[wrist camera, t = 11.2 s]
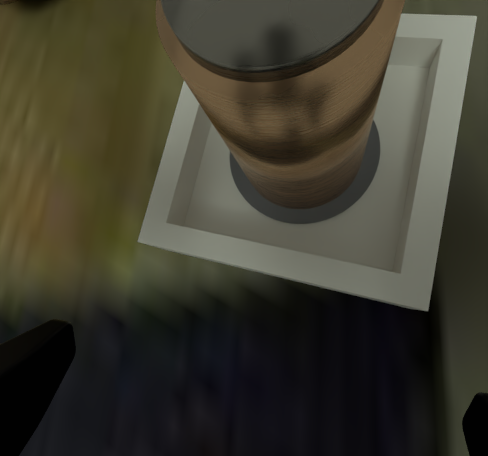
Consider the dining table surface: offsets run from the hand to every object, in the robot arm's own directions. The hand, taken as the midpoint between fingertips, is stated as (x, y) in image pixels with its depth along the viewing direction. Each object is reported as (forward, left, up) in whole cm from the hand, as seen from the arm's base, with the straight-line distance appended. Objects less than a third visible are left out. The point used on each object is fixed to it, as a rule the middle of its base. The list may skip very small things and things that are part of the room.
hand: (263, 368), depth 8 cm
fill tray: (+2, -9, -10) cm, 13 cm away
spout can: (+2, -9, -9) cm, 12 cm away
